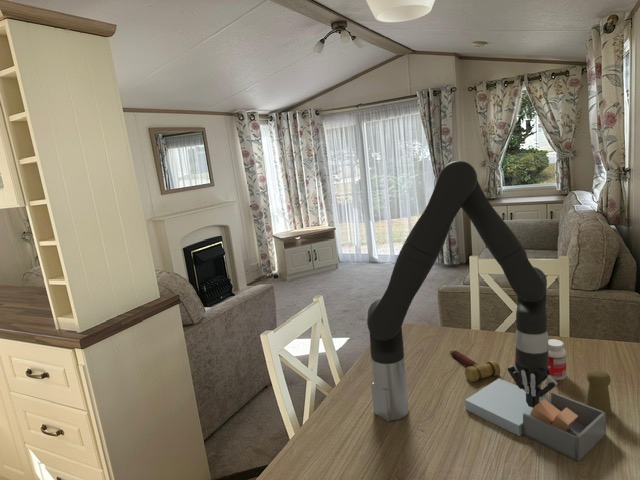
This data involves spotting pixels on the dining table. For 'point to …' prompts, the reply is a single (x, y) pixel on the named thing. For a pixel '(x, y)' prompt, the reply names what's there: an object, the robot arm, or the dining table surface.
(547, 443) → the box
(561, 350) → the pill bottle
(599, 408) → the olive pepper mill
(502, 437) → the dining table surface
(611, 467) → the dining table surface
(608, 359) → the dining table surface
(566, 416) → the peach block
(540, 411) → the peach foam cube
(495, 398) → the board
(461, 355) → the gavel
